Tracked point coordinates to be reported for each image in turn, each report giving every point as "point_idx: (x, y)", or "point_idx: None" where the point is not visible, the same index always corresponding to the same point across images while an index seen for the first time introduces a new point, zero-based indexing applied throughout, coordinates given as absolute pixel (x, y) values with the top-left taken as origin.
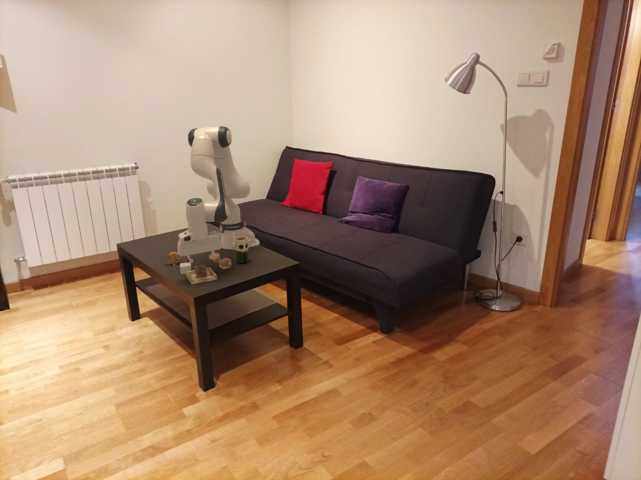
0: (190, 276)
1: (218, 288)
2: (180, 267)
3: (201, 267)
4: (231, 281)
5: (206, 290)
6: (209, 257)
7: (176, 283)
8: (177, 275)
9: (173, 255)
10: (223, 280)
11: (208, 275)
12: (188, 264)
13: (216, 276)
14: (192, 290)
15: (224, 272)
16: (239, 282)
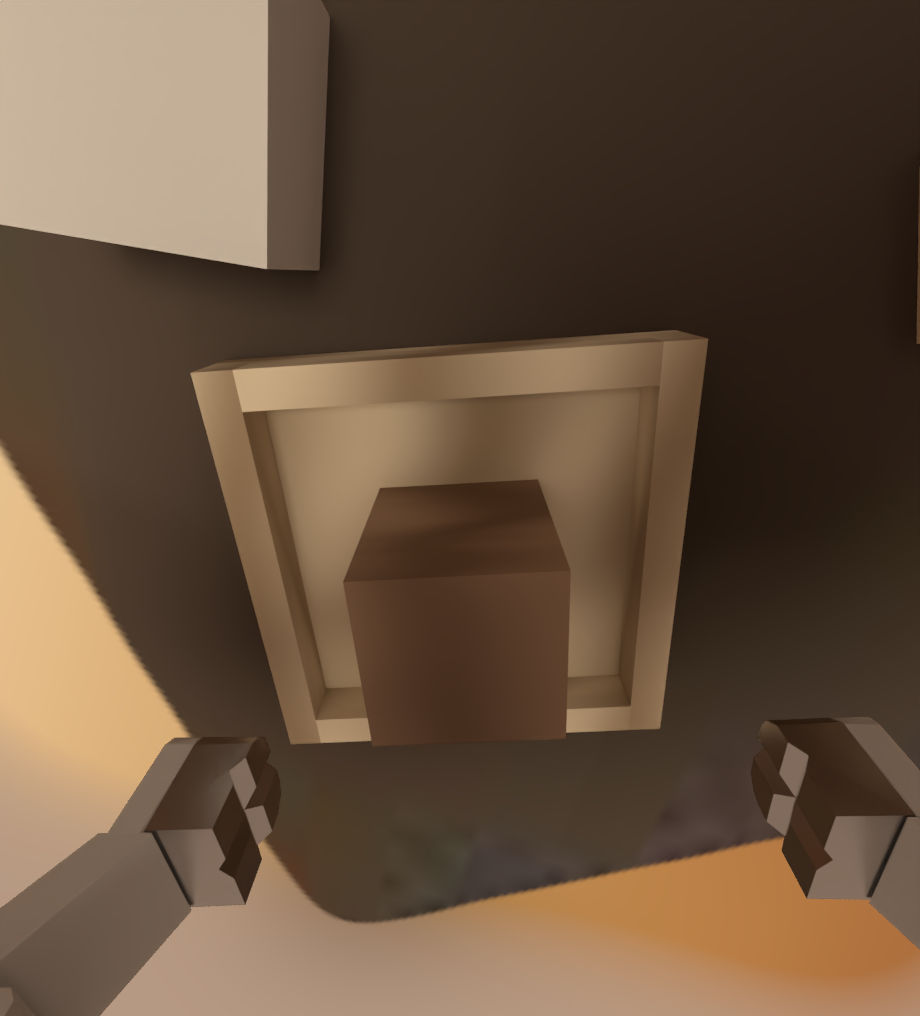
0: (282, 620)
1: (571, 869)
2: (14, 223)
3: (472, 713)
4: None
5: (449, 867)
6: (794, 760)
7: (104, 604)
8: (62, 279)
9: None
10: (699, 730)
11: (571, 561)
12: (206, 118)
13: (649, 720)
14: (311, 827)
15: (848, 486)
16: None
